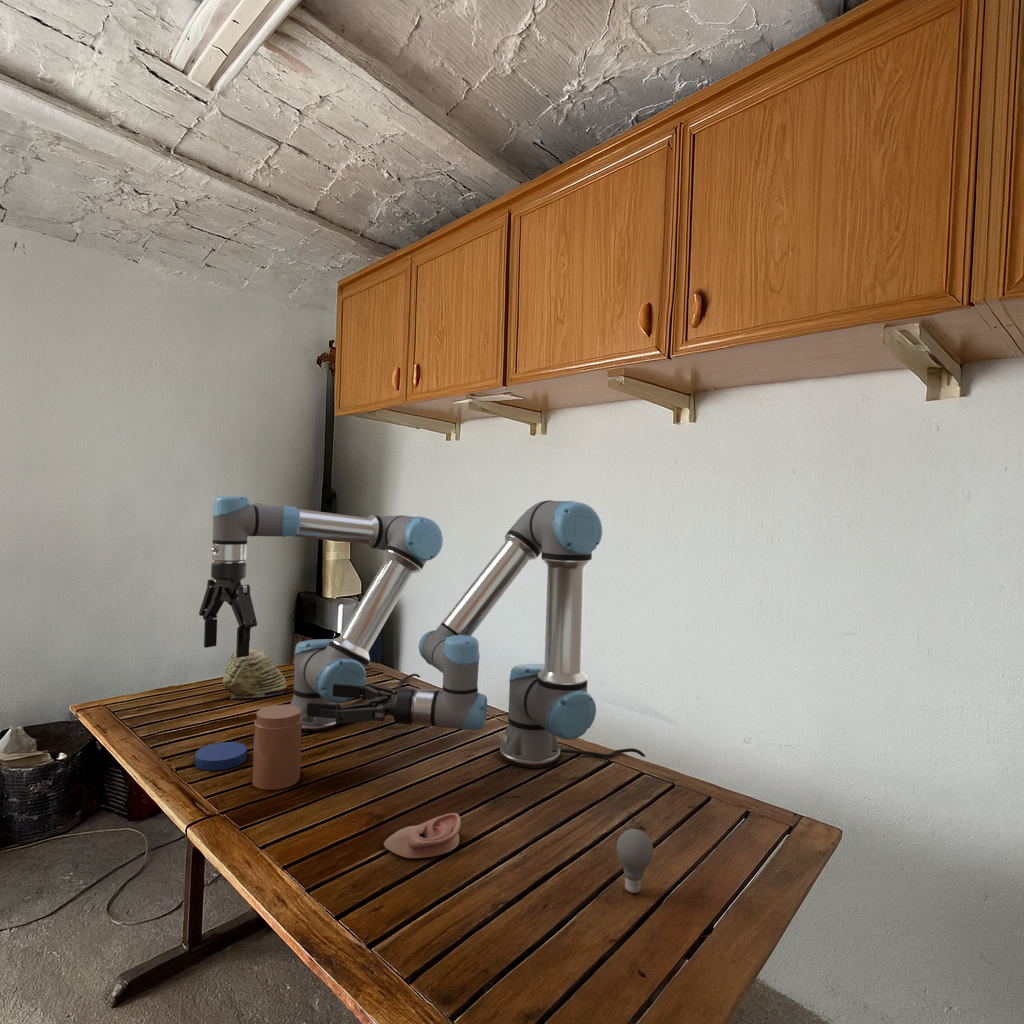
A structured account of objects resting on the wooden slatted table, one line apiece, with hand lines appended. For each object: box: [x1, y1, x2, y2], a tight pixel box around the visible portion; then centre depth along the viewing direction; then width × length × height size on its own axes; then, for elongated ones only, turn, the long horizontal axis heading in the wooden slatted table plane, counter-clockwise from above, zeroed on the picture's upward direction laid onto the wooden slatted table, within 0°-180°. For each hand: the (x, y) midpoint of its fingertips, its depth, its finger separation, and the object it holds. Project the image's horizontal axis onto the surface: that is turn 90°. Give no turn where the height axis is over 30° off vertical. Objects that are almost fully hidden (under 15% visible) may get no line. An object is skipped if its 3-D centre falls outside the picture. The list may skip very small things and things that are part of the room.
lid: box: [194, 741, 248, 771], centre depth 149 cm, size 11×11×2 cm
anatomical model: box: [383, 812, 462, 859], centre depth 117 cm, size 13×4×12 cm
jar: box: [251, 704, 303, 791], centre depth 141 cm, size 10×10×15 cm
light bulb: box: [615, 828, 654, 894], centre depth 106 cm, size 6×6×10 cm
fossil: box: [222, 647, 288, 699], centre depth 198 cm, size 9×18×15 cm, turn 132°
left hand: (225, 651), depth 149 cm, fingers open, 13 cm apart
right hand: (321, 699), depth 139 cm, fingers open, 13 cm apart
